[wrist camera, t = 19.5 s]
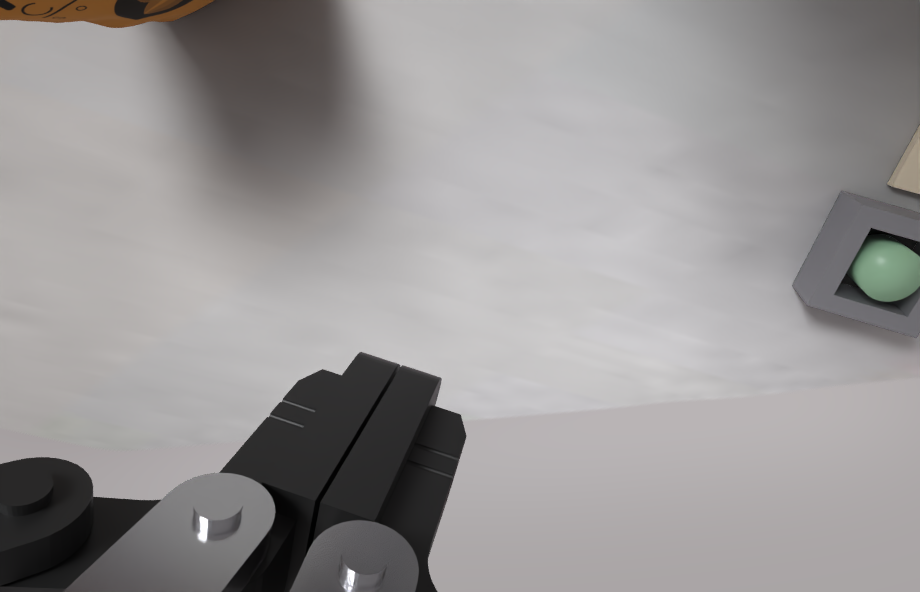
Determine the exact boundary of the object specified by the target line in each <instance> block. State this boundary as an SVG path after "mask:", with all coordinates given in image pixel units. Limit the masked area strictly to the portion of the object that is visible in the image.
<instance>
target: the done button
mask: <svg viewBox="0 0 920 592" xmlns="http://www.w3.org/2000/svg"><path fill="white" fill-rule="evenodd" d="M846 273H847V275H848V276H849V277H850V278H851V279H852V280H853V281H854V282H855V283H856V284H857V285H858V286H859V287H860V288H861V289H862V290H863V291H864V292H865V293H866V294H867V295H868V296H870V297H871V298H873V299H875V300H878V301H884V302H891V301H897V300H901V299H903V298H906V297H907V296H909V295H911V294H912V293H914V292H915V291H916V290H917V289H918V288H919V286H920V257H919V256H918V255H917V254H916V253H914V252H913V251H912V250H910V249H909V248H907V247H906V246H905V245H903V244H902V243H900V242H899V241H898V240H896V239H895V238H893V237H891V236H888V235H884V234H874V235H869V236H866V238H865V240H864V242H863V243H862V245H861V247H860V249H859V251H858V252H857V254H856V256H855V258H854V260H853V261H852V263H851V265H850V267H849V269H848V270H847V272H846Z"/></svg>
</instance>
